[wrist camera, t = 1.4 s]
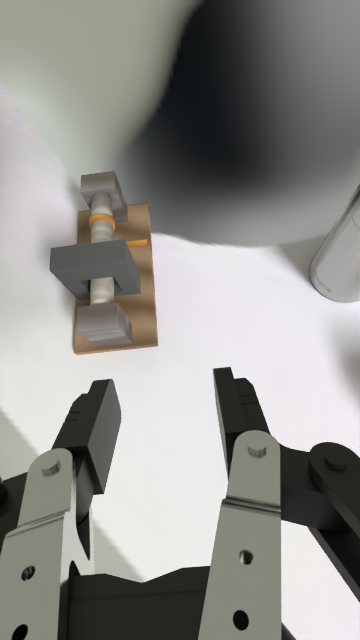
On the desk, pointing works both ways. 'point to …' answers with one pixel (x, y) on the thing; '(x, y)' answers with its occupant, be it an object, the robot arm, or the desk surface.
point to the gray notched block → (95, 267)
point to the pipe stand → (103, 307)
